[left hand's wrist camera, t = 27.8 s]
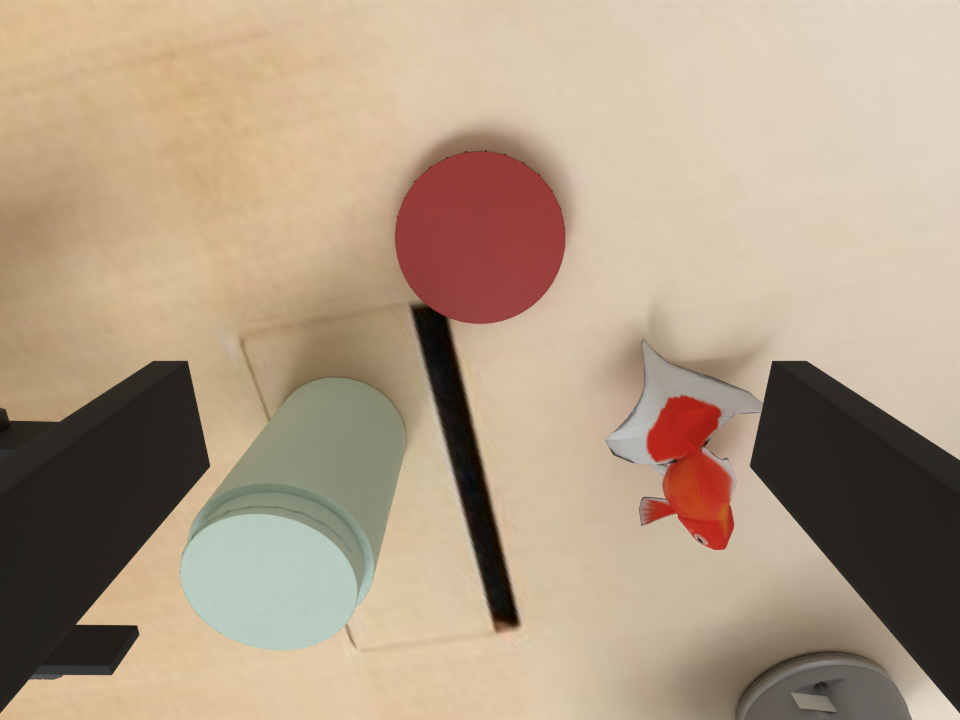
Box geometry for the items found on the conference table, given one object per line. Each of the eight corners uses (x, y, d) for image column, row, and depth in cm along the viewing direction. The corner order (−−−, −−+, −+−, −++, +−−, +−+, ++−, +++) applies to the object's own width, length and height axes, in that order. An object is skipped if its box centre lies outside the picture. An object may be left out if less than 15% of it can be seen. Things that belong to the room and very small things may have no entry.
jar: (308, 353, 40) (210, 471, 25) (429, 416, 42) (402, 558, 27) (256, 455, 43) (142, 612, 28) (370, 509, 45) (318, 681, 30)
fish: (588, 556, 41) (672, 598, 31) (562, 352, 42) (636, 333, 32) (704, 529, 44) (812, 560, 34) (677, 341, 45) (775, 321, 36)
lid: (497, 344, 40) (498, 354, 38) (368, 256, 37) (362, 262, 35) (595, 218, 36) (601, 222, 34) (460, 113, 34) (459, 111, 32)
